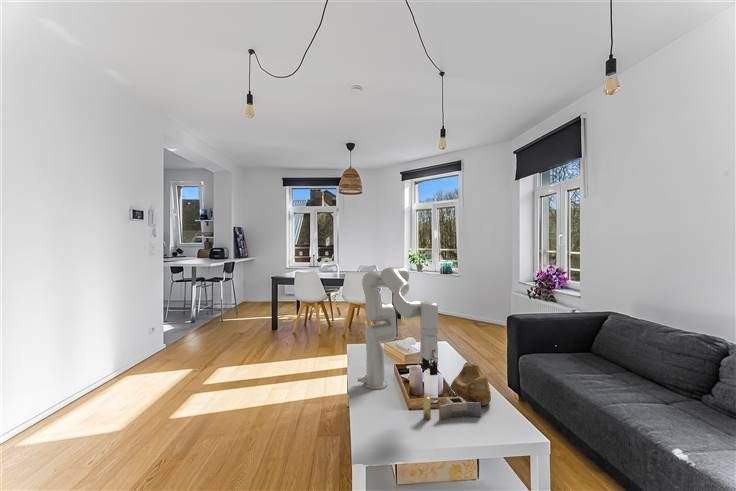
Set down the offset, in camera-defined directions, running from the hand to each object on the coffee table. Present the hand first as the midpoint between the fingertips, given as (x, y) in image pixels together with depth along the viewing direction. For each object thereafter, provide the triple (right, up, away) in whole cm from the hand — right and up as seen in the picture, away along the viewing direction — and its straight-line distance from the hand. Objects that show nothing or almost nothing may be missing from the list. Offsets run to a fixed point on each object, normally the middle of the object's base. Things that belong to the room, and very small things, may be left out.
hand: (429, 371), depth 165 cm
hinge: (+12, -19, +2) cm, 23 cm away
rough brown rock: (+22, -20, +19) cm, 35 cm away
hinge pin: (-1, -19, -2) cm, 20 cm away
